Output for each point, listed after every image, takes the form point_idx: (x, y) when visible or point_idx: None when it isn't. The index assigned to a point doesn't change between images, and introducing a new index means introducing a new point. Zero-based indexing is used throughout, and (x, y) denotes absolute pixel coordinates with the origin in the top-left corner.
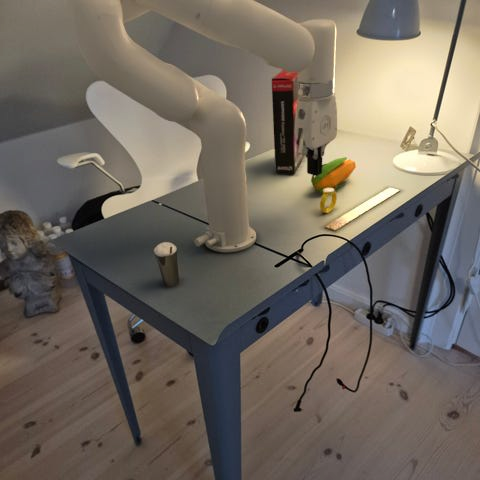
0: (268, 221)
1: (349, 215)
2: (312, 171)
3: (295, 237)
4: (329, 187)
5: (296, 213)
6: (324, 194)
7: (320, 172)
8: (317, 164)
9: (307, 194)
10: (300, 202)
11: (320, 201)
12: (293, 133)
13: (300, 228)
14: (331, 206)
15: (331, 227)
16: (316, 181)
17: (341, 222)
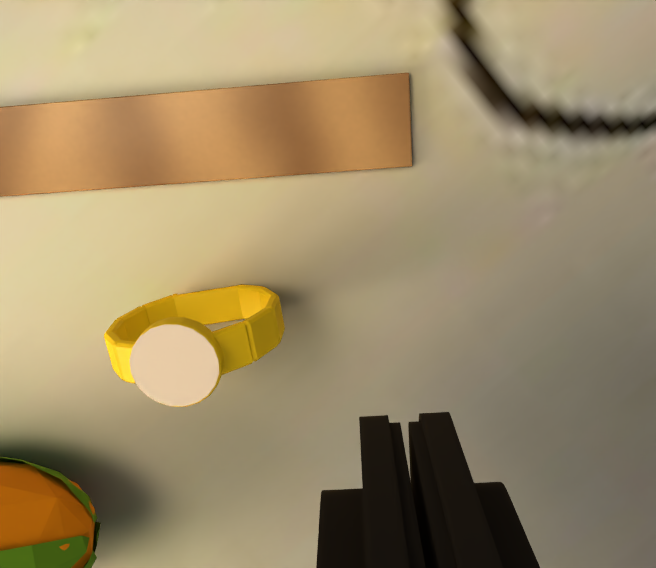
0: (559, 473)
1: (172, 147)
2: (499, 492)
3: (635, 215)
4: (19, 469)
5: None
6: (231, 357)
7: (390, 423)
8: (480, 516)
9: (132, 537)
10: (241, 500)
11: (276, 344)
12: None
13: (515, 275)
14: (171, 314)
15: (393, 120)
16: (75, 556)
17: (290, 118)
